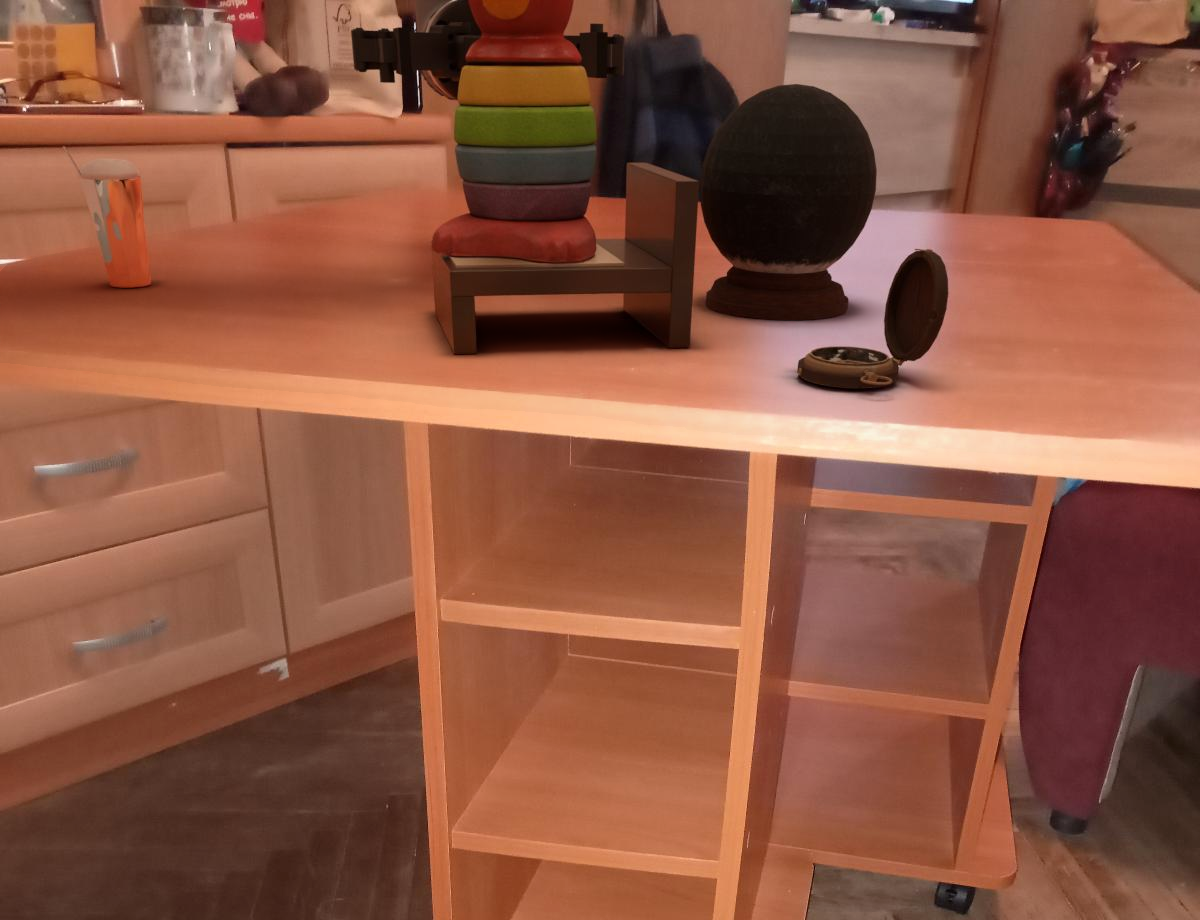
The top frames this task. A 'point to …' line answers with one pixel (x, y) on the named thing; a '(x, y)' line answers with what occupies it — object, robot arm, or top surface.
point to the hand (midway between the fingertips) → (505, 53)
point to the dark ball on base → (786, 202)
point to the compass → (889, 329)
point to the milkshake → (117, 218)
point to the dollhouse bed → (595, 266)
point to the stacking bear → (523, 138)
